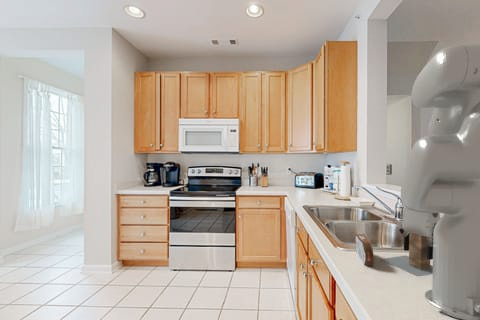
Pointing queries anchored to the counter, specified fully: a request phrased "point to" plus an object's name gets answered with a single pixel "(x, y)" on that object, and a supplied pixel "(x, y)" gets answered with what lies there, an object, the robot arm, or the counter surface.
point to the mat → (407, 265)
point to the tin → (364, 249)
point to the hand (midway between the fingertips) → (419, 254)
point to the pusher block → (418, 251)
